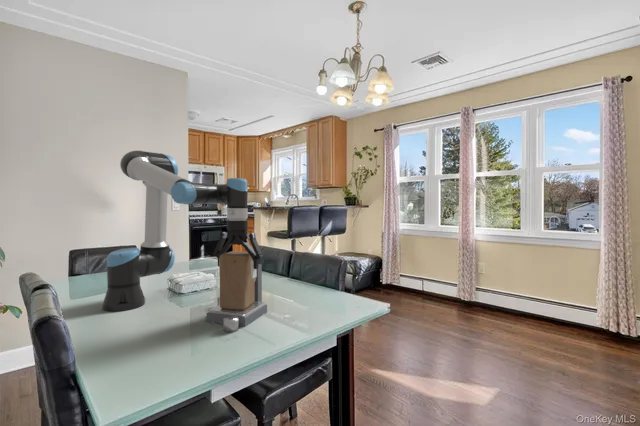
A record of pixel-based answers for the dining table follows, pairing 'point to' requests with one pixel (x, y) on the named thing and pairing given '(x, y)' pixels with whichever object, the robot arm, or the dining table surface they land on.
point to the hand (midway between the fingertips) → (237, 276)
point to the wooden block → (236, 281)
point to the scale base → (251, 317)
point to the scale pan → (236, 312)
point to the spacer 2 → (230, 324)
